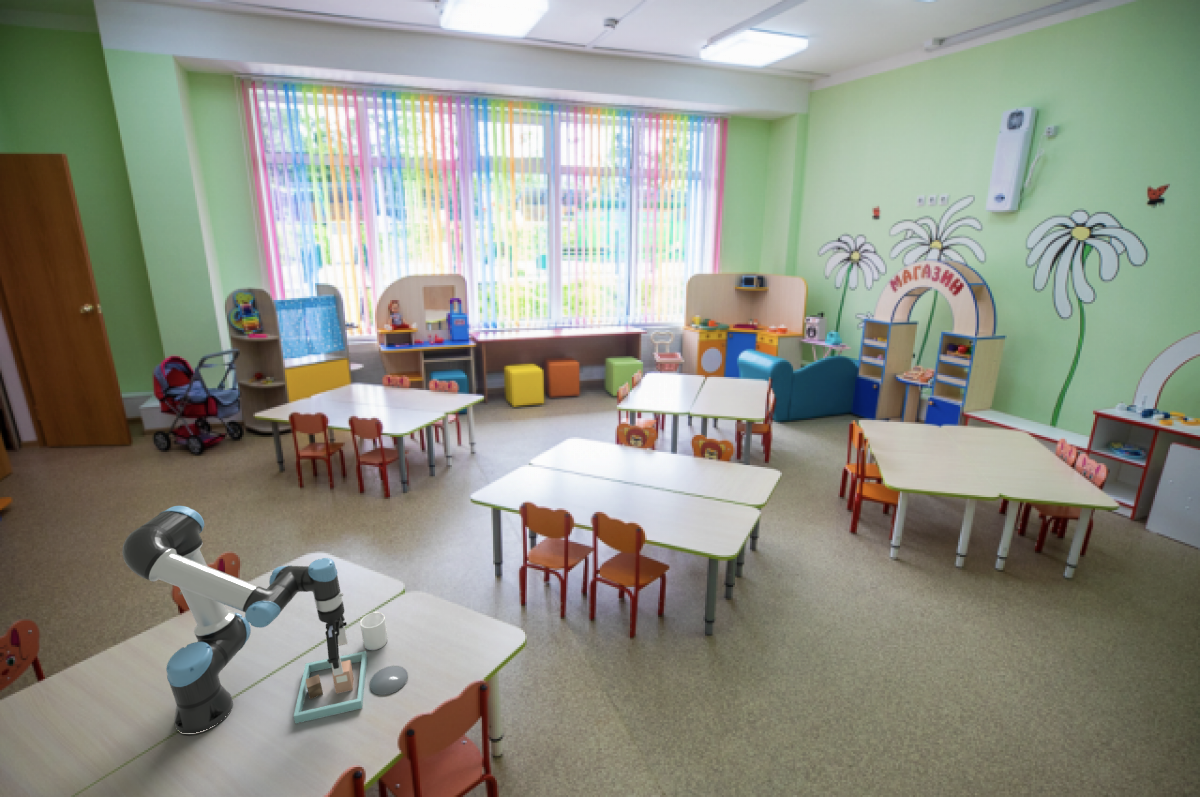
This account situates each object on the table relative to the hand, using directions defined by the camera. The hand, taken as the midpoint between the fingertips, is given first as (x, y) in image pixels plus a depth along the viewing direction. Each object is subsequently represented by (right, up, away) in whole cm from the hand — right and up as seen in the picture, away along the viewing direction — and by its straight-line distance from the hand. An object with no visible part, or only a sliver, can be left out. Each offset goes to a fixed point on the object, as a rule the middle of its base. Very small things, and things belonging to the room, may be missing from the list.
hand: (341, 658), depth 187 cm
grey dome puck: (+14, -10, +6) cm, 18 cm away
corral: (-4, -11, +3) cm, 12 cm away
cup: (+2, -4, +24) cm, 25 cm away
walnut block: (-9, -12, +1) cm, 15 cm away
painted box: (0, -11, +4) cm, 12 cm away
